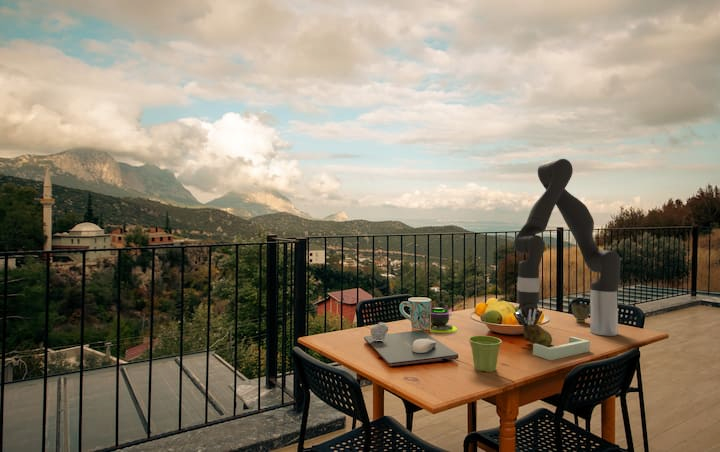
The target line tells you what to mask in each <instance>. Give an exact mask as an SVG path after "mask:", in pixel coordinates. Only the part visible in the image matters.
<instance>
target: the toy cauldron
mask: <svg viewBox="0 0 720 452" xmlns="http://www.w3.org/2000/svg"><path fill="white" fill-rule="evenodd" d="M441 303H444V301H442V302H441ZM432 306H433V304H432ZM431 309H432V313H431V322H430V323H431V330H430V333H439V334H440V333H441V334H442V333H443V334H445V333H447V334H448V333H453V332H456V331H458V328H457V327H456V326H454V325H452V324H448V323H449V321H450V316H451V317H452V316H453V313H454V312H453V311H452V310H449V309H447V306H445V307H444V308H443V307H432V308H431Z"/></svg>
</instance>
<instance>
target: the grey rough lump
mask: <svg viewBox="0 0 720 452" xmlns="http://www.w3.org/2000/svg"><path fill="white" fill-rule="evenodd" d="M369 330H370V335H371V338H372V339H373V340H374V339H376V340H382V339H385V338H386V335H387V333H388V331H389V326H388V325H387V324H386V322H381V321H380V322H378V323H377V324H376V325H373V326H372V327H371V328H370V329H369Z"/></svg>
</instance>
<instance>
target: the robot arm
mask: <svg viewBox="0 0 720 452" xmlns="http://www.w3.org/2000/svg"><path fill="white" fill-rule="evenodd" d="M572 175H573V166H572V163H571V162H570V161H569V160H568V159H566V158H558V159H554V160H553V159H552V160H551V161H550V160H549V161H547V162H546V161H545V162H544V163H541V164H539V166H538V168H537V176H538V179H539V182H540V183H541V185H542V186H543V188H544V189H545V191H544V193H543V194H541V196H540V197H539V198H538V199H537V201H536V202H535V203H534V204H533V206H532V208H531V210H530V212H529V213H528V214H529V215H528V218H527V220H526V222H525V224H523V226H522V228H521V229H520V230H519V232H518V233H517V234H516V236H515V238H514V241H513V247H514V250H515V252H517V253H518V254H520V255H521V254H522V255H528V257H527V259H525V260H522V261H519V262H518V268H517V269H518V271H517V273H518V274H517V283H516V286H517V288H516V290H517V292H516V294H517V295H516V296H517V297H516V298H517V299H516V301H517V302H518V310H517V311H516V312H515V311H514V312H513V316H514V318H515V320H516V321H517V323H518V325H519V326H521V327H523V329H524V328H525V326H527V325H530V324H535V325H538V322H539V320H540V318H541V315H542V314H543V310H540V309H539V305H538V304H540V296H541V295H540V287H541V286H540V278H539V277H540V266H541V265H540V264H541V262H542V258H543V256H544V252H545V248H546V247H545V241H544V238H543V237H542V236H541V235H538V234H541V233H543V232H545V231H546V229H547V226H548V223H549V221H550V218H551V215H552V214H553V210H554V209H555V206H556V207H557V209H558V211H559V213H560V214H561V216H562V219H563V221H564V222H565V224H566V226H567V227H568V229H569V231H570V232H571V234H572V236H573V238H574V240H575V242H576V243H577V244H576V245H577V246H578V248H579V250H580V253H581V255H582V258H583V261H584V263H585V265H586V266H587V268H588V269H589V270H590V271H591V272H594V273H600V275H599V279H597V280H594V281H592V282H590V287H589V288H590V291H589V292H590V298H589V299H590V301H589V302H590V304H589V305H590V313H589V316H590V321H589V323H590V325H589V326H590V327H589V331H590V333H592V334H595V335H598V336H599V335H600V336H606V337H609V336H610V337H614V336H617V335H618V333H619V310H618V286H619V285H620V277H621V276H620V275H621V257H620V256H619V254H618V253H617V252H616V251H614V250H610V249H609V250H608V249H600V248H599V247H598V245H597V244H596V242H595V240H594V238H593V235H594V229H595V228H594V227H595V221H594V218H593V215H592V214H591V211H590V210H589V209H588V207H587V206H586V204H585V203H583V201H581V200H580V199H579V198H577V197H575V196H574V195H573V194H572V193H570V192H569V191H568V190H567V189H566V188H567V185H568V184H569V182H570V180H571V178H572ZM523 337H524V338H525V336H524V335H523Z"/></svg>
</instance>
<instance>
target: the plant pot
mask: <svg viewBox="0 0 720 452" xmlns="http://www.w3.org/2000/svg"><path fill="white" fill-rule="evenodd" d="M468 341H469V343H470V346H471V351H472V352H471V353H472V360H473V367H474V369H475V370H477V371H479V372H486V373H491V372H492V373H493V372H495V371H496V369H497V364H498V357H499V349H500V347H501V344H502V342H503V341H502V339H500V338H498V337H495V336H490V335H473V336H470V337H468Z"/></svg>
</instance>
